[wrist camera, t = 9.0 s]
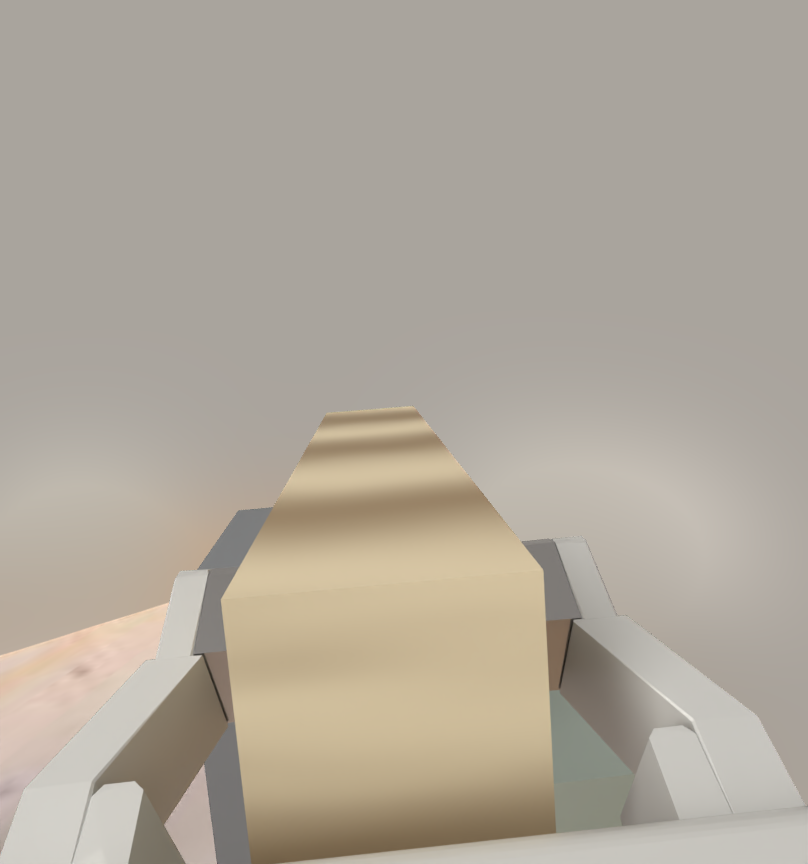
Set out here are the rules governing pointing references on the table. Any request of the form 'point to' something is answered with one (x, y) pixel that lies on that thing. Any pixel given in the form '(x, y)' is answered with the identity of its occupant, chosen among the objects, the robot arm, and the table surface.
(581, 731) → the step stand
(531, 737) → the batten
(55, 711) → the table surface
